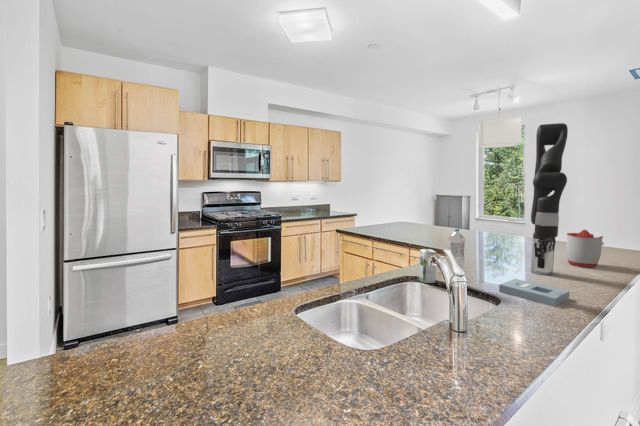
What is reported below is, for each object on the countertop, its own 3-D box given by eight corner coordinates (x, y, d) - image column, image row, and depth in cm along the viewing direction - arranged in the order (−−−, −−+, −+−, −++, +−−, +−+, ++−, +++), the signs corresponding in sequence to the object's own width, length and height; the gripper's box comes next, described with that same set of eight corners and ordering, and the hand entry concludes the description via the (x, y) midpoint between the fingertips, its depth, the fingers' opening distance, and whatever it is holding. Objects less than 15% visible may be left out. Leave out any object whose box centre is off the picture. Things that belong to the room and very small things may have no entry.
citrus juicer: (611, 269, 173) (615, 231, 171) (578, 269, 173) (581, 231, 171) (588, 262, 188) (591, 227, 186) (557, 261, 189) (560, 227, 187)
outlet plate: (514, 285, 145) (515, 278, 145) (568, 298, 129) (569, 290, 128) (499, 291, 137) (499, 283, 136) (554, 306, 121) (555, 297, 120)
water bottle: (455, 287, 141) (458, 230, 139) (442, 283, 147) (445, 228, 145) (466, 285, 144) (469, 229, 142) (453, 281, 150) (455, 227, 148)
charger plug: (539, 268, 132) (540, 248, 132) (552, 271, 129) (553, 250, 128) (534, 270, 130) (535, 250, 129) (547, 272, 126) (549, 252, 125)
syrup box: (418, 279, 153) (419, 249, 152) (430, 279, 153) (431, 248, 152) (423, 283, 147) (424, 251, 146) (435, 283, 148) (437, 251, 146)
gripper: (543, 221, 135) (540, 262, 136) (527, 224, 126) (524, 267, 128) (565, 223, 129) (561, 266, 130) (550, 226, 120) (546, 271, 122)
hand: (543, 266), depth 129 cm, fingers closed on charger plug, 4 cm apart
